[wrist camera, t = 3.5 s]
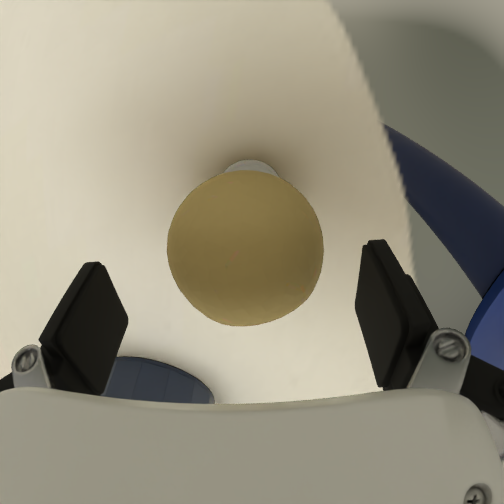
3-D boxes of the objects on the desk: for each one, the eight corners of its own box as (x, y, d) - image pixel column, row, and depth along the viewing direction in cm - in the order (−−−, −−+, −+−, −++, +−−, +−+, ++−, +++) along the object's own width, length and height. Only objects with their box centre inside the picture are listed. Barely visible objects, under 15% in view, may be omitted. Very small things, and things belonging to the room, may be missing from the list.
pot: (198, 358, 28) (184, 448, 21) (224, 421, 37) (218, 486, 29) (76, 352, 30) (47, 422, 22) (125, 413, 38) (111, 470, 30)
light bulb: (225, 243, 21) (205, 367, 13) (180, 161, 18) (113, 255, 10) (316, 211, 20) (352, 330, 11) (279, 118, 16) (302, 179, 8)
